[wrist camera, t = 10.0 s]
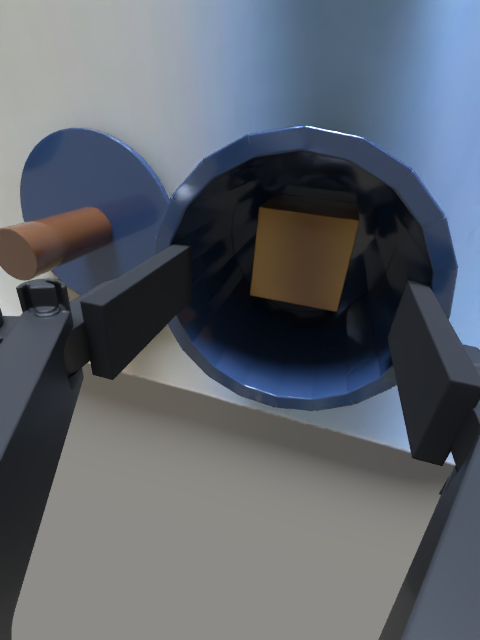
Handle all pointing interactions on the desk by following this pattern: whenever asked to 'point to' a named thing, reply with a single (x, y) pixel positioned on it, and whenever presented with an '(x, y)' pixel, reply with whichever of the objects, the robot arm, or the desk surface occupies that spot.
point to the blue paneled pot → (292, 319)
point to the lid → (83, 211)
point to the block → (303, 250)
